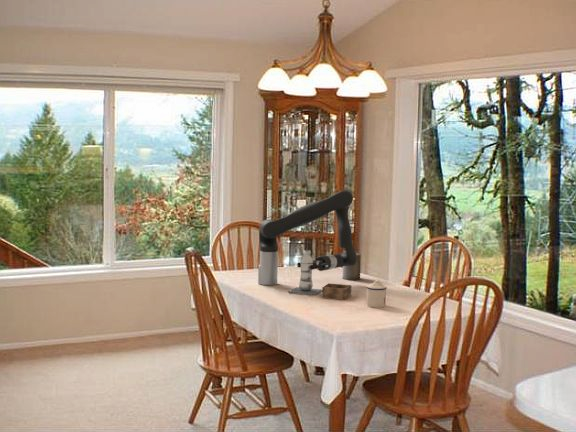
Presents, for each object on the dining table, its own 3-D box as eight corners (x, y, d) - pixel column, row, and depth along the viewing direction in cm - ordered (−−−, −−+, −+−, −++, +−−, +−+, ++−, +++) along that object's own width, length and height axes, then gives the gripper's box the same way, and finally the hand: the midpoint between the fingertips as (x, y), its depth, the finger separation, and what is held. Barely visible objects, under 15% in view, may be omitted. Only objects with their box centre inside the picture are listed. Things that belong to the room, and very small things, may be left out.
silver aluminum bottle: (303, 288, 357) (304, 249, 355) (315, 290, 353) (316, 250, 351) (296, 290, 352) (297, 250, 350) (307, 292, 348) (309, 251, 346)
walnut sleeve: (322, 297, 340) (322, 287, 339) (328, 293, 350) (328, 283, 349) (345, 299, 336) (345, 289, 336) (350, 295, 346) (351, 285, 345)
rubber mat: (288, 292, 349) (288, 291, 349) (296, 288, 360) (296, 287, 360) (315, 295, 344) (315, 294, 344) (322, 290, 356) (322, 289, 355)
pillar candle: (363, 278, 390) (363, 251, 389) (355, 280, 382) (355, 253, 380) (347, 276, 395) (348, 249, 394) (339, 279, 387) (339, 251, 386)
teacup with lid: (388, 307, 322) (389, 282, 320) (369, 308, 320) (370, 282, 319) (380, 301, 333) (381, 277, 332) (361, 302, 332) (362, 277, 330)
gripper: (315, 253, 366) (293, 256, 354) (336, 257, 356) (315, 260, 344) (315, 268, 367) (293, 271, 355) (336, 271, 357) (314, 275, 345)
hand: (304, 266), depth 350 cm, fingers open, 8 cm apart
